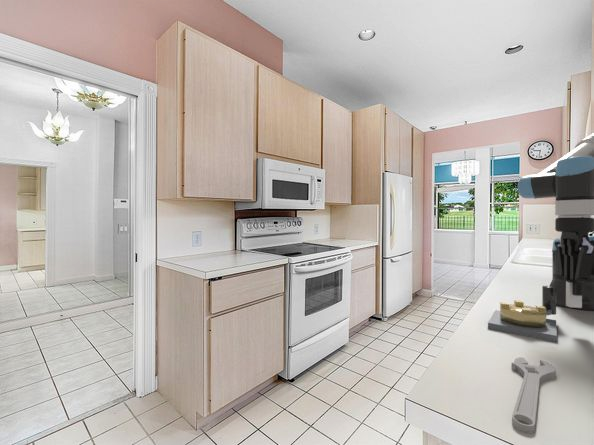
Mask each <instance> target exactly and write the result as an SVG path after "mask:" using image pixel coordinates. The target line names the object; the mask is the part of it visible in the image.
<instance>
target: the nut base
mask: <svg viewBox="0 0 594 445" xmlns="http://www.w3.org/2000/svg"><path fill="white" fill-rule="evenodd" d="M487 329H491V330H495V331H501V332H504V333H505V332H506V333H509V334H516V335H520V336H526V337H529V338H530V337H531V338H535V339H539V340H540V339H541V340H544V341H545V340H546V341H550V342H555V343H557V341H558V337H557V335H558V333H557V320H556V319H551V318H550V319H549V318H546V326H543V327H528V326H521V325H516V324H512V323H509V322H506V321H504V320H502V319H501V318H500V310H497V309H496V310H494V312H493V313H492V315H491V317H490V318H489V320H488V322H487Z"/></svg>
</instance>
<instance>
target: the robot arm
mask: <svg viewBox="0 0 594 445" xmlns="http://www.w3.org/2000/svg"><path fill="white" fill-rule="evenodd" d="M517 190H518V194H519V196H520V197H521V198H523V199H534V200H536V199H548V198H555V201H554V204H555V207H554V210H555V211H554V215H555V216H556V218H555V221H554V223H555V224H554V226H555V228H554V229H555V231H556V232H559V233H561V235H560V237H559V238H558V237H557V238H556V239H555V240H553V242H552V249H551V254H552V256H551V261H552V263H551V265H552V267H551V270H552V272H551V273H552V279H551V282H550V284H549V286H552V287H556V306H560V307H565V308H570V309H577V310H586V311H594V235H593V236H591V235H590V236H589V233H593V232H594V217H592V216H594V133H592V134H590V135H587V137H585V138H583V139H582V140H580V141H578V142H577V144H576V145H575V146H574V149H572V150H570V151H569V152H568V153H566V154H565V155H563V156H562V157H561V158H559V159H558V160H556V161H554V162H553V163H552V164H550V165H549V166H547V167H545V169H543V170H541V171H540V172H538V173H536V174H529V175H524V176H522V177H520V178H519V180H518V181H517Z"/></svg>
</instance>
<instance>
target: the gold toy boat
mask: <svg viewBox="0 0 594 445" xmlns="http://www.w3.org/2000/svg"><path fill="white" fill-rule="evenodd" d="M541 291H542V293H541V294H542V295H541V297H542V299H541V302H542V304H541V305H535V307H534V306H530V305H525V303H524V301H523V300H517V299H514V302H513V303H509V302H503V301H500V302H499V304H500V305H499V306H500V307H499V311H500V318H501V319H502V320H504V321H506V322H509V323H512V324H516V325H521V326H528V327H543V326H546V319H547V316H551V315H554V316H555V315H557V305H556V287H552V286H550V285H542V290H541Z"/></svg>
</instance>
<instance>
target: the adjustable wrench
mask: <svg viewBox="0 0 594 445" xmlns="http://www.w3.org/2000/svg"><path fill="white" fill-rule="evenodd" d="M511 369H512V371H516V372H517V373H518V374H519V375H521V376H522V377H523V379H522V382H521V386H520V388H519V391H518V395H517V398H516V402H515V405H514V408H513V412H512V414H511V423H512V426H513V427H514V428H516V429H517V430H519V431H521V432H523V433H529V434H532V433H534V432H535V431H536V422H537V414H538V413H537V412H538V405H539V404H538V401H539V392H540V385H541V384H542V383H544V382H545V381H547V380H552V379H554V378H556V377H557V368H556V367H555V366H554V365H553V364H551V363H550V362H548V361H545V360H543V359H539V365H536V364H535V365H534V364H533V365H532V364H529V363H528V361H527V360H526V358H525V357H522V356H521V357H517V358H515V359H514V362H511Z"/></svg>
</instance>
